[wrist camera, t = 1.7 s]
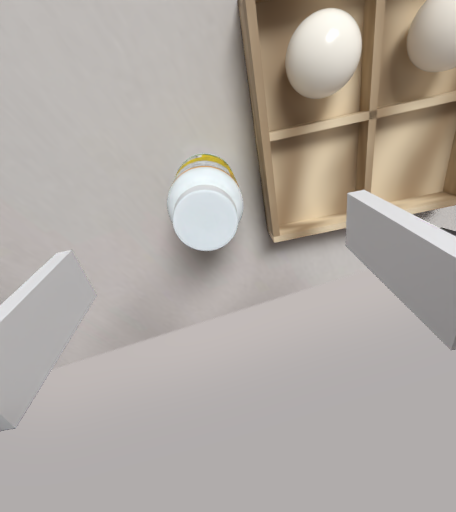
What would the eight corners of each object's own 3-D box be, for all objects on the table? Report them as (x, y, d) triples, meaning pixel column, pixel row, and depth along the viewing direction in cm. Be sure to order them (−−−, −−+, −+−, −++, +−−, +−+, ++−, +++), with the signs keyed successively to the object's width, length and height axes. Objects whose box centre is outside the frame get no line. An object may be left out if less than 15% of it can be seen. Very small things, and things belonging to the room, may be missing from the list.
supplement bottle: (183, 144, 22) (169, 164, 14) (242, 162, 24) (262, 190, 15) (171, 203, 25) (153, 250, 16) (225, 217, 26) (235, 267, 18)
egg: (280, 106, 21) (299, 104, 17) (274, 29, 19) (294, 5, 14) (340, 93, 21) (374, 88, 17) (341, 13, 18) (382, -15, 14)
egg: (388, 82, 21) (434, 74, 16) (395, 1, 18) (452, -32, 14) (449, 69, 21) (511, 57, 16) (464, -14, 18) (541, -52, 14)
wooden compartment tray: (267, 230, 27) (274, 242, 24) (237, -1, 18) (242, -20, 16) (440, 193, 26) (466, 202, 24) (494, -61, 18) (545, -91, 15)
